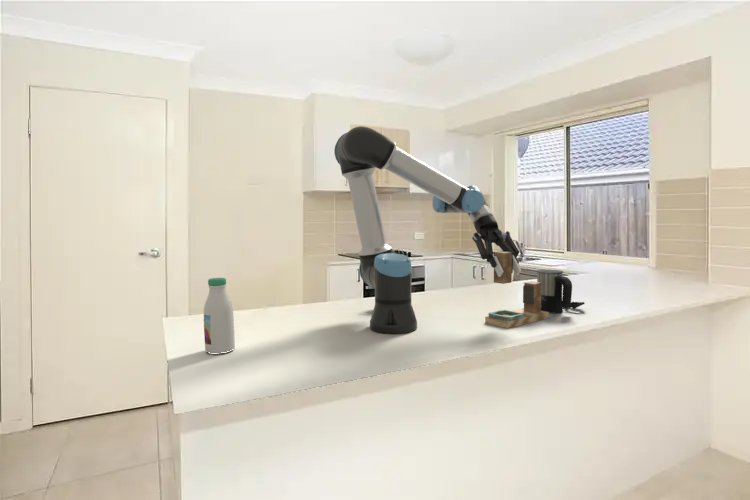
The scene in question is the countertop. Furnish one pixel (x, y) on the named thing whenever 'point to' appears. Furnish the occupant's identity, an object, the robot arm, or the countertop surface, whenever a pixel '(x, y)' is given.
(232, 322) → the milk bottle
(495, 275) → the brown wooden block
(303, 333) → the countertop surface
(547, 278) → the milk frother
